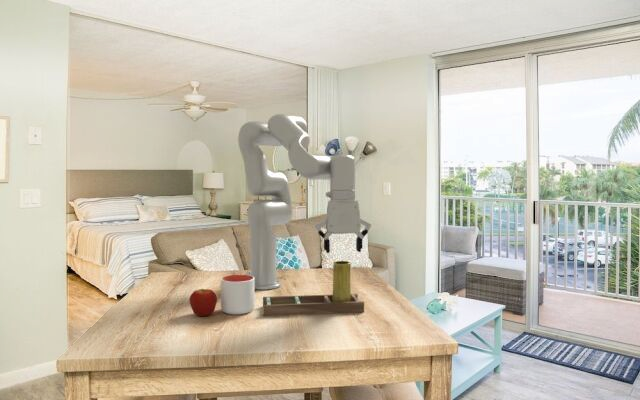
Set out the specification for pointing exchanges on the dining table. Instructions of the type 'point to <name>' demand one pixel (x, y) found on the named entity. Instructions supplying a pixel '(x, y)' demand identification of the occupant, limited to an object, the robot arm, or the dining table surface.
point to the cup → (237, 294)
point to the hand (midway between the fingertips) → (343, 251)
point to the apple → (203, 302)
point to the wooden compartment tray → (309, 305)
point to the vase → (341, 281)
